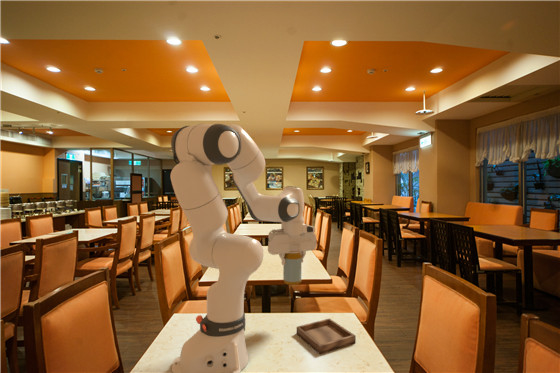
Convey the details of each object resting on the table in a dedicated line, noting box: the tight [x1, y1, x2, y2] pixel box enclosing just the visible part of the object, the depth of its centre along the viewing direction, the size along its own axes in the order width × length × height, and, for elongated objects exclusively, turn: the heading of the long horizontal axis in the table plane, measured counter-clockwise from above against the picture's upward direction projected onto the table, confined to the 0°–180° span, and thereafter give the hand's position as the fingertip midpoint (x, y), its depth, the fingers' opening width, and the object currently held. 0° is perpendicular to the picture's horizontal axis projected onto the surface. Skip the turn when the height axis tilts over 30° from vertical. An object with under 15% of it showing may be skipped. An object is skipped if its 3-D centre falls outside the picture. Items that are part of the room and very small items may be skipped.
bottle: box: [282, 244, 302, 286], centre depth 117 cm, size 7×7×15 cm
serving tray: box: [296, 318, 357, 355], centre depth 105 cm, size 15×15×2 cm
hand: (292, 263), depth 117 cm, fingers closed on bottle, 6 cm apart
